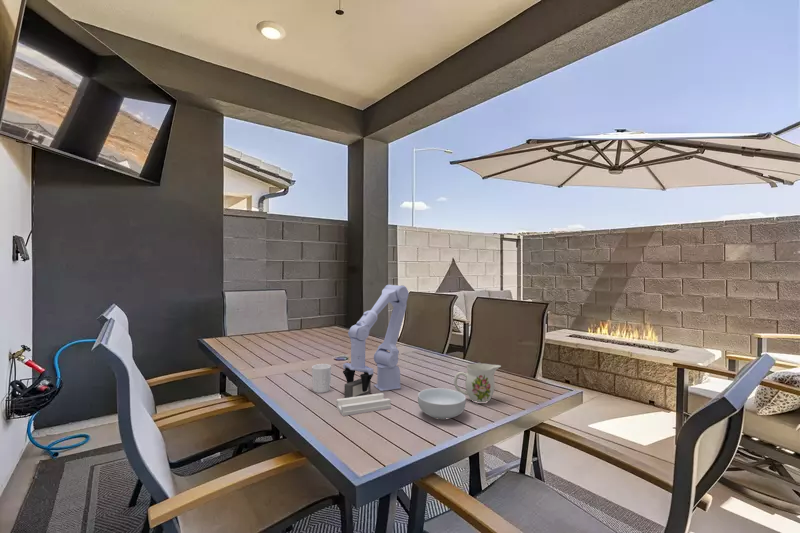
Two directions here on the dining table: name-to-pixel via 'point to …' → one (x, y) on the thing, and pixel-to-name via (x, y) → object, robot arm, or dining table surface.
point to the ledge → (362, 404)
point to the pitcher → (478, 381)
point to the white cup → (321, 377)
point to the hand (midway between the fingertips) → (357, 389)
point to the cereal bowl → (441, 402)
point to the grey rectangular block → (355, 389)
